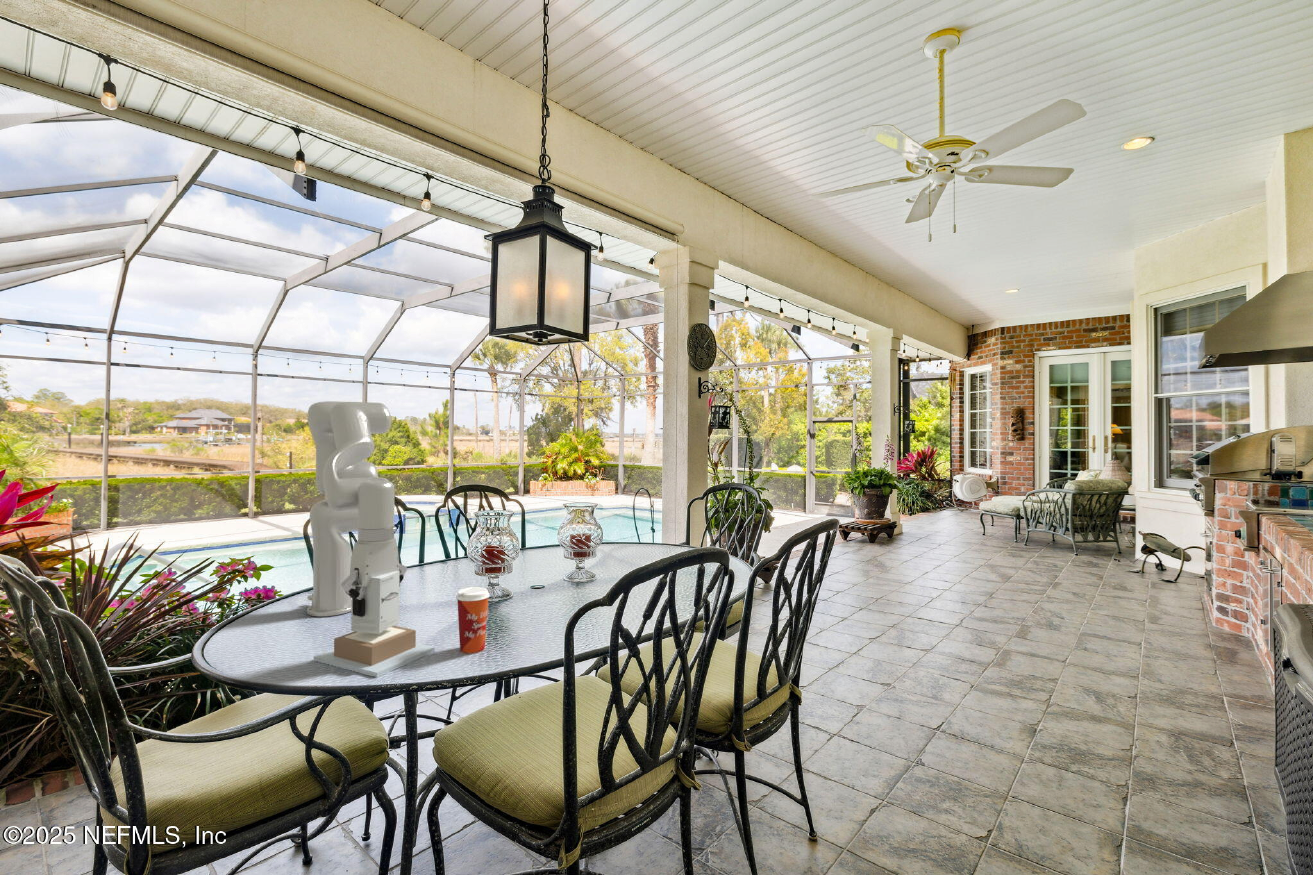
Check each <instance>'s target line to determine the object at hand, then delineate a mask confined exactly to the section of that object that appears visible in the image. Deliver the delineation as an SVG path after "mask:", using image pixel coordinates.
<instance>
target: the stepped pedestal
mask: <svg viewBox="0 0 1313 875" xmlns="http://www.w3.org/2000/svg"><path fill="white" fill-rule="evenodd" d="M416 632H417V630H416V629H411V628H406V627H401V626H397V625H394V626H392V627H390V628H388V629H386V630H384V631H382V632H381V633H379V634H373V633H363V632H355V631H351V632H349V633H347V634H343V635H341V636H338V637H335V638H334V639H333V648H332V649H330V650H328V651H324V652H322V653H319V654H317V655H314V656H313V661H314V662H316V661H318V662H317V663H320V662H321V664H324V663H326V664H325V665H328V664H329V666H332V665H333V666H332V667H335V666H336V667H335V668H339V667H341V668H340V669H343V670H347V669H348V671H351V670H352V671H351V672H354V671H355V673H358V672H359V674H363V675H366V676H371V677H373V676H375V677H374V678H380V677H381V676H384V675H386V674H387V673H388V674H389V673H390V672H392V671H394V670H396V669H398V668H401V667H403V666H406V665H408V664H410V663H412V662H414V661H416V660H419V659H421V658H423V657H426V656H427V655H430V654H432V653H434V652H436V647H435V646H433V645H427V644H423V643H418V642H416V639H417V637H416V636H417V635H416V634H417V633H416Z"/></svg>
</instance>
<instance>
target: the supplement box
mask: <svg viewBox="0 0 1313 875" xmlns="http://www.w3.org/2000/svg"><path fill="white" fill-rule="evenodd" d="M399 572H400V571H395V572H391V573H387V574H383V575H380V576H376V577H373V578H372V579H371V583H370V587H368V588H367V590H366V592H365V594H364V596H363V598H364V599H365V616H363V617H359V616H355V615H353V598H351V600H352V611H350V612H351V614H350V615H351V617H350V618H351V620H350V626H351V629H350V630H351V632H354V631H355V632H363V633H373V634H379V633H381V632H382V631H384V630H386V629H388V628H390V627H392V626H397V625H398V624H399V623H400V618H399V617H400V587H399ZM356 582H358V584H361V582H360V579H359V577H358V578H357V579H356V580H355V581H354V582H353V583H356ZM354 586H355V584H353V585H352V587H353V588H354ZM360 589H361V588H360V587H358V592H359V591H360Z"/></svg>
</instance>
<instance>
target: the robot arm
mask: <svg viewBox="0 0 1313 875" xmlns="http://www.w3.org/2000/svg"><path fill="white" fill-rule="evenodd" d="M307 422H308V423H307V424H308V427H309V431H310V434H311V436H312V439H313V441H314V445H315V446H314V447H315V483H316V489H317V491H318V492H319V494H321V495H325V500H321V501H318V502H316V503H314V505H312V507H311V508H310V509H309V510H310V511H309V522H310V527H311V535H312V545H313V548H312V551H313V554H312V555H313V556H312V557H313V558H312V560H313V562H312V563H313V565H312V567H313V568H312V569H313V571H312V575H313V577H312V580H313V582H312V583H313V584H312V586H313V587H312V588H313V589H312V590H313V591H312V593H311V594H309V595H308V596H307V600H308V601H311V605H309V606H308V607H307V608H306V614H307V615H309V616H312V617H332V616H340V615H342V614H343V615H344V614H346V613H350V612H352V598H353V615H355V616H359V617H363V616H365V599H364V598H363V596H364V594H365V592H366V590H367V588H368V587H370V583H371V579H372V578H373V577H376V576H380V575H383V574H387V573H391V572H395V571H400V572H399V588H400V587H401V583H402V581H403V580H404V578H405V577H404V576H405V575H406V572H407V571H408V567H407V566H405V565H403V564H402V563H400V558H399V556H400V555H399V547H398V542H397V539H396V538H395V533H396V532H397V529H398V528H397V527H396V525H395V484H394V483H393V482H392V481H389V479H387V478H386V477H381V476H379V472H378V469H377V467H376V465H375V464H374V463H372V462H371V461H367V459H369V458H370V456H372V455H373V453H374V451H375V443H374V439H373V436H372V434H373V435H374V434H375V435H376V434H382V435H383V434H386V433H388V431H389V430H390V428H391V425H392V416H391V412H390V410H389V409H388V407H387V406H386V405H385V404H384V403H381V402H369V401H368V402H365V401H334V400H333V401H318V402H314V403H313V404H311V405H310V406H309V408H308V410H307ZM348 532H357V542H354V544H353V548H352V547H351V544H350V542H349V541H348V540H347V539H346V538H345V537H344V536H342V534H343V533H344V534H345V533H348ZM358 577H359V579H360V582H361V584H358V582H356V583H353V582H354V581H355V580H356V579H357V578H358ZM353 584H355V586H354V588H353V587H352V585H353ZM358 587H360V588H361V589H360V591H359V592H358Z"/></svg>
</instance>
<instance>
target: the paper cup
mask: <svg viewBox="0 0 1313 875" xmlns="http://www.w3.org/2000/svg"><path fill="white" fill-rule="evenodd" d="M489 597H490V593H489V591H488V589H487V588H486V587H480V586H478V587H477V586H474V587H473V586H471V587H470V586H469V587H466V588H465V587H464V588H461V589H460V590H458V592H457V595H456V597H455V598H456V601H457V614H458V615H457V617H458V620H457V621H458V636H459V650H460V652H461V653H463V654H468V655H469V654H478V653H480V652H483V651H484V650H485V647H486V638H487V637H486V636H487V624H488V620H487V619H488V607H489V606H488V605H489Z"/></svg>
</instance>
